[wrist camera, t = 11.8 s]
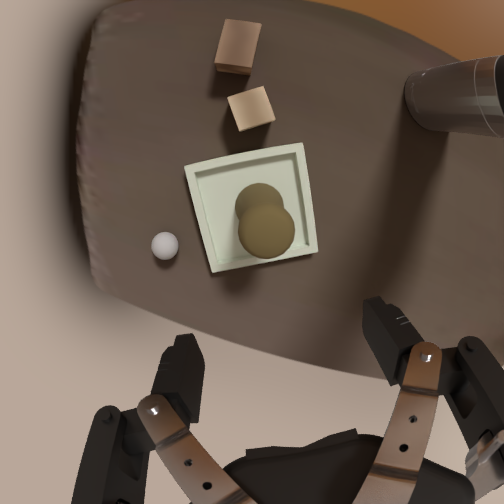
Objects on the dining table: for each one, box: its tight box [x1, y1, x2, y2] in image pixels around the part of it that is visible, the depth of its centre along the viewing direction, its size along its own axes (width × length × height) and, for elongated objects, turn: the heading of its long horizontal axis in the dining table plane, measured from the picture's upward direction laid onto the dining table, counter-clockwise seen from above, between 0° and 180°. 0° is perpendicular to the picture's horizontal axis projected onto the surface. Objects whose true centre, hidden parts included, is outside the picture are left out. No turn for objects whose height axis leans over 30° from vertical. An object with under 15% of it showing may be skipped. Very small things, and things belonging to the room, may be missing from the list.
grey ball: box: [152, 232, 178, 260], centre depth 34 cm, size 4×4×4 cm
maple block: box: [227, 86, 276, 132], centre depth 28 cm, size 4×4×4 cm
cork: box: [235, 183, 295, 259], centre depth 28 cm, size 6×6×11 cm
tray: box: [184, 143, 318, 273], centre depth 33 cm, size 14×14×2 cm
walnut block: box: [214, 19, 261, 76], centre depth 24 cm, size 4×6×4 cm, turn 169°
